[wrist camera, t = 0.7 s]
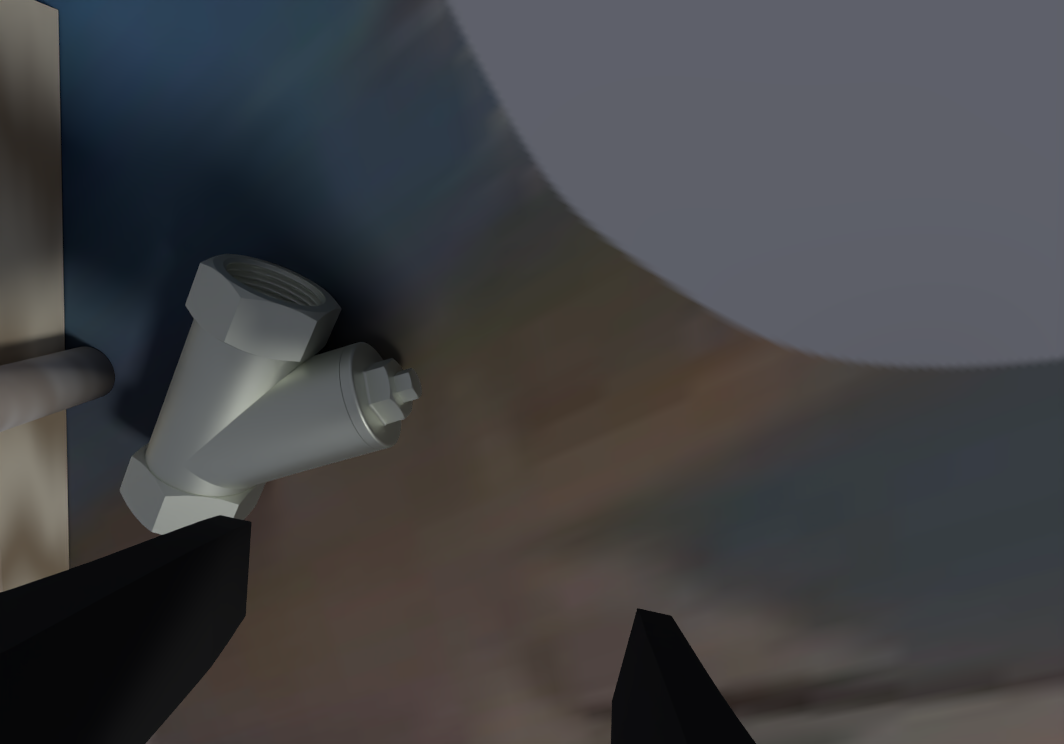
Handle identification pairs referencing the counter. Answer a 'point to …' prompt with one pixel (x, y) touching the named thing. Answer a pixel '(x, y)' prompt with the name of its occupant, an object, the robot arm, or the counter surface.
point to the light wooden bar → (34, 304)
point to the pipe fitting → (260, 397)
